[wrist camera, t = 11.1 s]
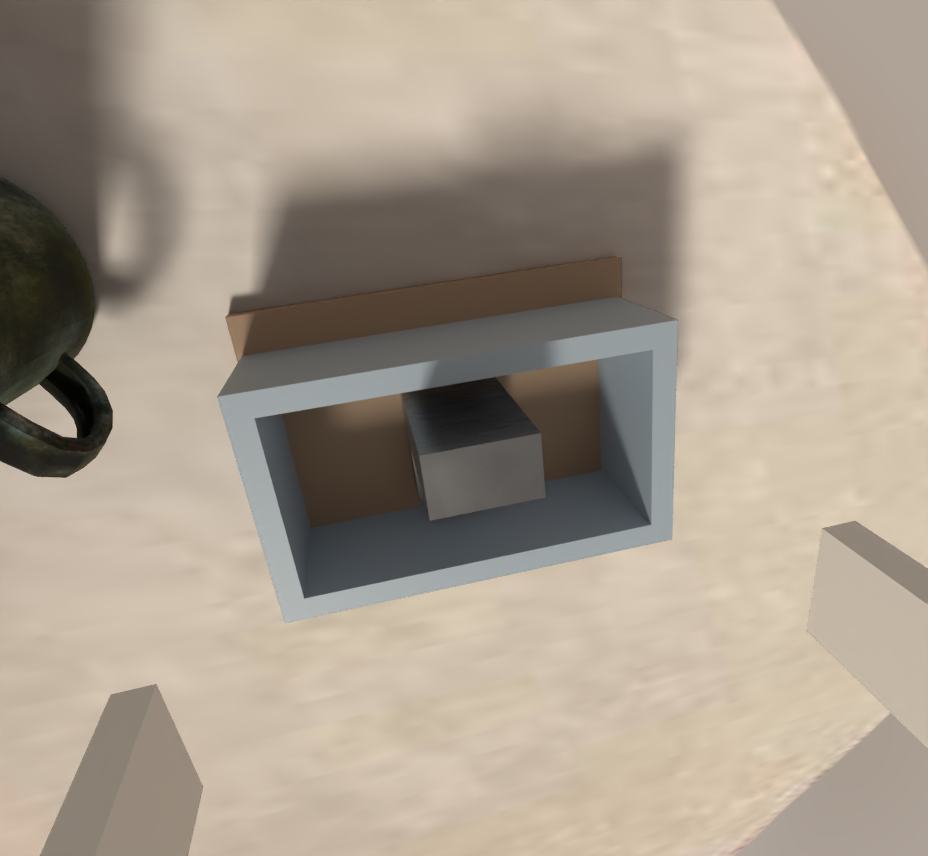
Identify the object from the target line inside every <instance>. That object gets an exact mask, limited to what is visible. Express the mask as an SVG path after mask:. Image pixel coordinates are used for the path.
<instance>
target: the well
mask: <svg viewBox="0 0 928 856" xmlns="http://www.w3.org/2000/svg"><path fill="white" fill-rule="evenodd" d="M225 318H226V321H227V325H228V329H229V332H230V336H231V340H232V343H233V347H234V350H235V354H236V358H237V361H238V364H237V365H236V367H235V369H234V370H233V372H232V374H231V375H230V377H229V378H228V380H227V382H226V383H225V385H224V387H223V388H222V390H221V392H220V393H219V395H218V396H217V398H218V401H219V404H220V408H221V411H222V414H223V418H224V421H225V424H226V428H227V431H228V434H229V438H230V441H231V444H232V448H233V451H234V455H235V458H236V461H237V465H238V468H239V471H240V475H241V478H242V481H243V485H244V488H245V491H246V495H247V498H248V501H249V505H250V508H251V512H252V515H253V518H254V522H255V525H256V528H257V532H258V535H259V538H260V542H261V545H262V548H263V552H264V555H265V558H266V562H267V565H268V569H269V572H270V575H271V579H272V582H273V585H274V589H275V592H276V595H277V599H278V602H279V605H280V609H281V612H282V615H283V619H284V622H285V623H290V622H294V621H299V620H303V619H308V618H313V617H317V616H322V615H326V614H331V613H336V612H340V611H345V610H349V609H354V608H359V607H363V606H368V605H372V604H377V603H382V602H386V601H391V600H395V599H400V598H405V597H409V596H414V595H418V594H423V593H428V592H432V591H437V590H441V589H446V588H451V587H455V586H460V585H464V584H469V583H474V582H478V581H483V580H488V579H492V578H497V577H501V576H506V575H511V574H515V573H520V572H524V571H529V570H534V569H538V568H543V567H547V566H552V565H557V564H561V563H566V562H570V561H575V560H580V559H584V558H589V557H593V556H598V555H603V554H607V553H612V552H616V551H621V550H626V549H630V548H635V547H639V546H644V545H649V544H653V543H658V542H662V541H667V540H672V527H673V488H674V450H675V411H676V372H677V333H678V320H676V319H674V318H671V317H669V316H666V315H663V314H661V313H658V312H656V311H653V310H650V309H648V308H645V307H643V306H640V305H638V304H635V303H632V302H630V301H627V300H625V299H622V267H621V258H619V257H609V258H602V259H595V260H589V261H582V262H575V263H569V264H562V265H555V266H549V267H542V268H535V269H529V270H522V271H515V272H509V273H502V274H495V275H488V276H482V277H475V278H468V279H462V280H455V281H448V282H442V283H435V284H428V285H422V286H415V287H408V288H402V289H395V290H388V291H382V292H375V293H368V294H361V295H355V296H348V297H341V298H335V299H328V300H321V301H315V302H308V303H301V304H295V305H288V306H281V307H275V308H268V309H261V310H254V311H248V312H241V313H234V314H228V315H227V316H226V317H225ZM492 377H496V379H497V380H498V381H499V382H500V383H501V385H502V386H503V387H504V388H505V390H506V391H507V392H508V393H509V395H510V396H511V397H512V398H513V399H514V401H515V402H516V403H517V404H518V406H519V407H520V408H521V409H522V410H523V412H524V413H525V414H526V415H527V417H528V418H529V419H530V420H531V421H532V423H533V424H534V425H535V426H536V428H537V429H538V430H539V431H540V433H541V440H542V454H543V468H544V482H545V496H546V497H545V498H540V499H535V500H530V501H525V502H520V503H516V504H511V505H506V506H501V507H496V508H491V509H486V510H481V511H476V512H471V513H466V514H461V515H456V516H451V517H446V518H441V519H436V520H431V521H430V520H429V516H428V512H427V508H426V505H422V506H420V502H419V497H418V493H417V489H416V485H415V479H414V473H413V468H412V462H411V456H410V450H409V444H408V438H407V432H406V426H405V420H404V414H403V409H402V403H401V397H400V393H405V392H411V391H417V390H422V389H428V388H434V387H440V386H446V385H451V384H457V383H463V382H469V381H475V380H480V379H486V378H492Z"/></svg>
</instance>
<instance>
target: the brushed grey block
mask: <svg viewBox="0 0 928 856" xmlns="http://www.w3.org/2000/svg"><path fill="white" fill-rule="evenodd" d="M400 397H401V403H402V409H403V414H404V420H405V426H406V432H407V438H408V444H409V450H410V456H411V462H412V468H413V473H414V479H415V485H416V489H417V493H418V497H419V502H420V506H422V505H426V508H427V512H428V516H429V520H430V521H431V520H436V519H441V518H446V517H451V516H456V515H461V514H466V513H471V512H476V511H481V510H486V509H491V508H496V507H501V506H506V505H511V504H516V503H520V502H525V501H530V500H535V499H540V498H545V497H546V496H545V482H544V468H543V454H542V440H541V433H540V431H539V430H538V429H537V428H536V426H535V425H534V424H533V423H532V421H531V420H530V419H529V418H528V417H527V415H526V414H525V413H524V412H523V410H522V409H521V408H520V407H519V406H518V404H517V403H516V402H515V401H514V399H513V398H512V397H511V396H510V395H509V393H508V392H507V391H506V390H505V388H504V387H503V386H502V385H501V383H500V382H499V381H498V380H497V379H496V377H492V378H486V379H480V380H475V381H469V382H463V383H457V384H451V385H446V386H440V387H434V388H428V389H422V390H417V391H411V392H405V393H400Z"/></svg>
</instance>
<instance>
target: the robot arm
mask: <svg viewBox="0 0 928 856" xmlns="http://www.w3.org/2000/svg"><path fill="white" fill-rule="evenodd" d="M807 632H808V633H809V634H810V635H811V636H812V637H813V638H814V639H815V640H816V641H817V642H818V643H819V644H820V645H821V646H822V647H823V648H824V649H825V650H826V651H827V652H828V653H830V654H831V655H832V656H833V657H834V658H835V659H836V660H837V661H838V662H839V663H840V664H841V665H842V666H843V667H844V668H845V669H846V670H847V671H848V672H849V673H850V674H851V675H852V676H853V677H854V678H855V679H856V680H857V681H859V682H860V683H861V684H862V685H863V686H864V687H865V688H866V689H867V690H868V691H869V692H870V693H871V694H872V695H873V696H874V697H875V698H876V699H877V700H878V701H879V702H880V703H881V704H882V705H883V706H884V707H885V708H887V709H888V710H889V711H890V712H891V713H892V714H893V715H894V716H895V717H896V718H897V719H898V720H899V721H900V722H901V723H902V724H903V725H904V726H905V727H906V728H907V729H908V730H909V731H910V732H911V733H913V734H914V735H915V736H916V737H917V738H918V739H919V740H920V741H921V742H922V743H923V744H924V745H925V746H926V747H927V748H928V568H926V567H925V566H923V565H921V564H920V563H918V562H917V561H915V560H914V559H912V558H911V557H909V556H908V555H906V554H905V553H903V552H902V551H900V550H899V549H897V548H896V547H894V546H893V545H891V544H890V543H888V542H887V541H885V540H884V539H882V538H881V537H879V536H878V535H876V534H875V533H873V532H872V531H870V530H868V529H867V528H865V527H864V526H862V525H861V524H859V523H858V522H856V521H852V522H848V523H843V524H839V525H835V526H831V527H826V528H822V532H821V539H820V545H819V552H818V559H817V565H816V572H815V578H814V585H813V592H812V598H811V605H810V611H809V618H808V625H807ZM202 790H203V785H202V783H201V781H200V779H199V777H198V774H197V772H196V770H195V768H194V766H193V763H192V761H191V759H190V757H189V755H188V752H187V750H186V748H185V746H184V744H183V741H182V739H181V737H180V735H179V733H178V731H177V728H176V726H175V724H174V722H173V720H172V717H171V715H170V713H169V711H168V709H167V706H166V704H165V702H164V700H163V698H162V695H161V693H160V691H159V689H158V687H157V684H154V685H150V686H146V687H142V688H137V689H133V690H129V691H125V692H120V693H116V694H112V695H110V698H109V700H108V702H107V704H106V707H105V709H104V711H103V713H102V716H101V718H100V720H99V723H98V725H97V727H96V729H95V732H94V734H93V736H92V738H91V741H90V743H89V745H88V748H87V750H86V752H85V754H84V757H83V759H82V761H81V763H80V766H79V768H78V770H77V773H76V775H75V777H74V779H73V782H72V784H71V786H70V788H69V791H68V793H67V795H66V798H65V800H64V802H63V804H62V807H61V809H60V811H59V813H58V816H57V818H56V820H55V823H54V825H53V827H52V829H51V832H50V834H49V836H48V838H47V841H46V843H45V845H44V848H43V850H42V852H41V854H40V856H188V853H189V849H190V844H191V840H192V835H193V831H194V826H195V821H196V817H197V812H198V808H199V803H200V799H201V794H202Z"/></svg>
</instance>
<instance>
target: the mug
mask: <svg viewBox="0 0 928 856" xmlns="http://www.w3.org/2000/svg"><path fill="white" fill-rule="evenodd" d="M93 317H94V292H93V287H92V281H91V277H90V274H89V272H88V269H87V266H86V263H85V261H84V259H83V257H82V255H81V253H80V251H79V249H78V247H77V245H76V244H75V242H74V241H73V239H72V238H71V237H70V235H69V234H68V232H67V231H66V229H65V228H64V227H63V226H62V225H61V224H60V222H59V221H58V220H57V219H56V218H55V217H54V216H53V215H52V214H51V213H50V212H49V211H48V210H47V209H46V208H45V207H44V206H42V205H41V204H40V203H39V202H38V201H37V200H36V199H34V198H33V197H32V196H30V195H29V194H27V193H26V192H24V191H23V190H21V189H20V188H18V187H17V186H15V185H14V184H12V183H10V182H8V181H6V180H4V179H2V178H0V461H1V462H3V463H6V464H8V465H10V466H13V467H15V468H17V469H19V470H22V471H24V472H26V473H29V474H31V475H33V476H37V477H62V478H66V477H68V476H70V475H72V474H73V473H75V472H77V471H79V470H80V469H82V468H84V467H85V466H86V465H87V464H89V463H90V462H91V461H92V460H93V459H95V458H96V457H97V455H98V453H99V452H100V450H101V449H102V447H103V446H104V444H105V442H106V440H107V438H108V436H109V434H110V432H111V430H112V423H113V410H112V408H111V405H110V402H109V400H108V397H107V395H106V393H105V391H104V390H103V388H102V387H101V386H100V385H99V383H98V382H97V381H96V380H95V378H93V377H92V376H91V375H90V374H89V373H88V372H87V371H86V370H85V369H84V368H83V367H82V366H81V365H80V364H79V363H77V362H76V361H75V360H74V358H75V357H76V356H77V355H78V353H79V352H80V350H81V349H82V347H83V346H84V344H85V343H86V341H87V338H88V336H89V333H90V331H91V328H92V322H93ZM38 384H40V385H41V386H42V387H43V388H44V389H45V390H47V391H48V392H49V393H50V394H51V395H52V396H53V397H54V398H55V399H57V400H58V401H59V402H60V403H61V404H62V405H63V406H64V407H65V408H66V409H67V411H68V412H69V413H70V415H71V416H72V417H73V419H74V421H75V424H76V428H77V438H69V437H62V436H60V435H58V434H56V433H54V432H52V431H50V430H48V429H46V428H44V427H42V426H40V425H38V424H36V423H34V422H32V421H30V420H28V419H27V418H25V417H23V416H22V415H20V414H18V413H17V412H15V411H14V410H12V409H10V408H9V407H7V406H5V405H7V404H8V403H10V402H11V401H13V400H15V399H16V398H18V397H19V396H21V395H22V394H24V393H26V392H27V391H29V390H30V389H32V388H33V387H35V386H37V385H38Z"/></svg>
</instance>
